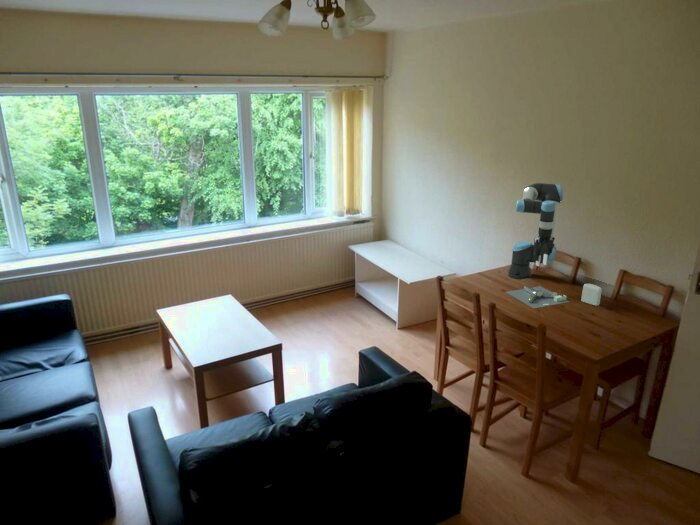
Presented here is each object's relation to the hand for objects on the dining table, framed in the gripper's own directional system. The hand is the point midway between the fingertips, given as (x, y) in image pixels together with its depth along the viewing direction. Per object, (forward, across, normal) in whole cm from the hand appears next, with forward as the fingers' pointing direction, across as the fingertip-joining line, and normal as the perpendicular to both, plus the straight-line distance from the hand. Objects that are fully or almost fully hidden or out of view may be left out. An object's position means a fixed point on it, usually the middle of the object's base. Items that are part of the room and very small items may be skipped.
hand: (541, 265), depth 301 cm
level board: (+19, +6, +6) cm, 20 cm away
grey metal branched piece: (+17, +6, +3) cm, 18 cm away
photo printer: (+19, -18, +24) cm, 35 cm away
